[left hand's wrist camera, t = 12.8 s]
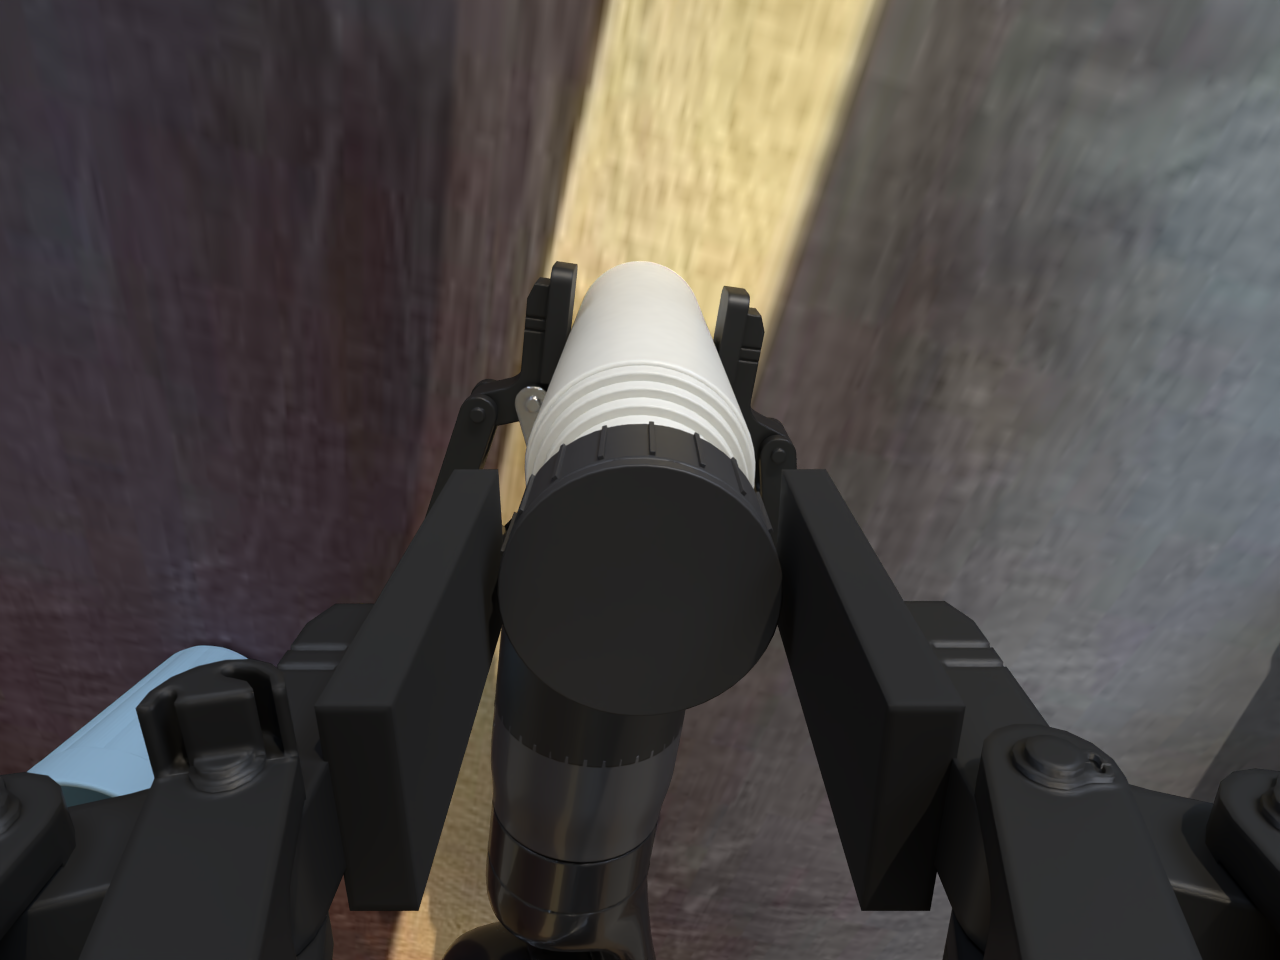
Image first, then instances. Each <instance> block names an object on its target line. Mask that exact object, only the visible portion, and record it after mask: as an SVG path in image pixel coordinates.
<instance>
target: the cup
mask: <svg viewBox="0 0 1280 960" xmlns="http://www.w3.org/2000/svg"><path fill="white" fill-rule="evenodd" d="M231 659H248V658H246V657H244V656H242V655H240V654H239V653H236V652H234V651H232V650H229V649H226V648H223V647H216V646H194V647H191V648H187V649H185V650H182V651H179V652H177V653H175V654H174V655H172V656H171V657H170V658H168V659H167V660H166V661H165V662H163V663H162V664H161V665H159V666H158V667H157V668H156V669H154V670H153V671H152V672H151V673H149V674H148V675H147V676H146V677H144V678H143V679H142V680H141V681H139V682H138V683H137V684H136V685H134V686H133V687H132V688H131V689H130V690H128V691H127V692H126V693H125V694H123V695H122V696H121V697H120V698H118V699H117V700H116V701H115V702H113V703H112V704H111V705H110V706H108V707H107V708H106V709H105V710H104V711H102V712H101V713H100V714H99V715H97V716H96V717H95V718H94V719H92V720H91V721H90V722H89V723H87V724H86V725H85V726H84V727H82V728H81V729H80V730H79V731H78V732H76V733H75V734H74V735H73V736H71V737H70V738H69V739H68V740H66V741H65V742H64V743H63V744H61V745H60V746H59V747H58V748H56V749H55V750H54V751H53V752H51V753H50V754H49V755H48V756H47V757H45V758H44V759H43V760H42V761H40V762H39V763H37V764H36V765H35V766H34V767H32V768H31V769H30V770H29V771H27V772H29V773H35V774H42V775H48V776H49V777H51V778H52V779H53V780H54V781H55V782H57V783H58V784H59V785H60V786H61V789H62V792H63V795H64V798H65V801H66V804H67V807H71V806H75V805H80V804H85V803H89V802H94V801H98V800H103V799H108V798H112V797H117V796H121V795H126V794H131V793H134V792H138V791H141V790H145V789H148V788H150V787H151V785H152V783H153V780H154V775H153V771H152V768H151V764H150V760H149V757H148V753H147V749H146V746H145V742H144V738H143V734H142V731H141V727H140V723H139V720H138V716H137V712H136V709H135V708H136V707H137V706H138V705H139V703H140V702H141V701H142V700H143V698H144V697H145V696H146V695H147V694H148V692H149V691H151V690H152V689H154V688H155V687H157V686H158V685H160V684H161V683H163V682H164V681H166V680H167V679H169V678H170V677H172V676H175V675H177V674H180V673H182V672H184V671H187V670H189V669H192V668H194V667H197V666H200V665H204V664H209V663H213V662H218V661H222V660H231Z"/></svg>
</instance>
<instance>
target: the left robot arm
mask: <svg viewBox="0 0 1280 960" xmlns="http://www.w3.org/2000/svg"><path fill="white" fill-rule="evenodd" d="M502 545H503V534H502V519H501V505H500V490H499V475H498V469H454V471H453V472H452V474H451V476H450V477H449V479H448V481H447V483H446V484H445V486H444V488H443V489H442V491H441V493H440V494H439V496H438V498H437V499H436V501H435V503H434V504H433V506H432V508H431V510H430V511H429V513H428V515H427V516H426V518H425V520H424V521H423V523H422V525H421V526H420V528H419V530H418V532H417V533H416V535H415V537H414V538H413V540H412V542H411V543H410V545H409V547H408V548H407V550H406V552H405V553H404V555H403V557H402V559H401V560H400V562H399V564H398V565H397V567H396V569H395V570H394V572H393V574H392V575H391V577H390V579H389V580H388V582H387V584H386V586H385V587H384V589H383V591H382V592H381V594H380V596H379V597H378V599H377V601H376V602H375V604H335V605H333V606H332V607H330V608H329V609H327V610H326V611H324V612H323V613H321V614H320V615H318V616H317V617H315V618H314V619H313V620H311V621H310V622H308V623H307V624H306V625H305V627H304V628H303V630H302V631H301V632H300V634H299V635H298V637H297V638H296V639H295V641H294V642H293V644H292V645H291V650H288V651H287V652H286V653H285V655H284V656H283V658H282V659H281V661H280V662H279V663H278V667H277V668H276V667H275V666H274V665H273V664H271V663H267V662H262V661H258V660H254V659H231V660H222V661H218V662H213V663H209V664H204V665H200V666H197V667H194V668H192V669H189V670H187V671H184V672H182V673H180V674H177V675H175V676H172V677H170V678H169V679H167V680H166V681H164V682H163V683H161V684H160V685H158V686H157V687H155V688H154V689H152V690H151V691H149V692H148V694H147V695H146V696H145V697H144V698H143V700H142V701H141V702H140V703H139V705H138V706H137V707H136V708H135V709H136V712H137V716H138V720H139V723H140V727H141V731H142V734H143V738H144V742H145V746H146V749H147V753H148V757H149V760H150V764H151V768H152V771H153V775H154V780H153V783H152V785H151V787H150V788H148V789H145V790H141V791H138V792H134V793H131V794H126V795H121V796H117V797H112V798H108V799H103V800H98V801H94V802H89V803H85V804H80V805H75V806H71V807H67V804H66V801H65V798H64V795H63V792H62V789H61V786H60V785H59V784H58V783H57V782H55V781H54V780H53V779H52V778H51V777H49V776H48V775H42V774H35V773H29V772H22V773H14V774H6V775H0V960H332V956H333V946H334V942H333V936H332V929H331V923H330V918H329V912H328V910H329V908H330V905H331V903H332V901H333V898H334V896H335V893H336V891H337V889H338V886H339V884H340V881H341V879H342V876H343V874H344V880H345V885H346V891H347V897H348V903H349V908H350V911H419V907H420V904H421V900H422V897H423V893H424V890H425V887H426V883H427V880H428V876H429V873H430V870H431V866H432V863H433V859H434V856H435V853H436V849H437V846H438V842H439V839H440V836H441V832H442V829H443V825H444V822H445V819H446V815H447V812H448V808H449V805H450V801H451V798H452V795H453V791H454V788H455V784H456V781H457V778H458V774H459V771H460V767H461V764H462V761H463V757H464V754H465V750H466V747H467V744H468V740H469V737H470V733H471V730H472V727H473V723H474V720H475V716H476V713H477V709H478V706H479V703H480V699H481V696H482V692H483V689H484V686H485V682H486V679H487V675H488V672H489V669H490V665H491V662H492V658H493V655H494V652H495V648H496V645H497V641H498V638H499V634H500V631H501V628H502V620H501V616H500V612H499V606H498V597H497V584H498V573H499V568H500V563H501V559H502V556H503V555H500V551H501V548H502ZM776 551H777V554H778V558H779V562H780V565H781V568H782V571H783V576H782V579H783V603H782V608H781V613H780V618H779V621H778V628H779V631H780V635H781V638H782V641H783V645H784V648H785V652H786V655H787V658H788V662H789V665H790V669H791V672H792V675H793V679H794V682H795V686H796V689H797V692H798V696H799V699H800V703H801V706H802V709H803V713H804V716H805V720H806V723H807V727H808V730H809V733H810V737H811V740H812V744H813V747H814V750H815V754H816V757H817V761H818V764H819V767H820V771H821V774H822V778H823V781H824V784H825V788H826V791H827V795H828V798H829V802H830V805H831V808H832V812H833V815H834V819H835V822H836V825H837V829H838V832H839V836H840V839H841V842H842V846H843V849H844V853H845V856H846V859H847V863H848V866H849V870H850V873H851V876H852V880H853V883H854V887H855V890H856V894H857V897H858V900H859V904H860V907H861V911H930V908H931V902H932V897H933V891H934V885H935V880H936V874H937V872H938V875H939V877H940V880H941V882H942V884H943V887H944V889H945V892H946V894H947V896H948V899H949V901H950V904H951V906H952V912H951V918H950V923H949V928H948V934H947V939H946V944H945V949H944V955H943V960H1280V771H1272V770H1264V769H1256V768H1255V769H1249V770H1242V771H1235V772H1232V773H1231V774H1230V775H1229V776H1227V777H1226V778H1225V779H1224V780H1223V781H1221V782H1220V786H1219V789H1218V792H1217V795H1216V798H1215V801H1214V804H1212V803H1207V802H1203V801H1198V800H1194V799H1189V798H1184V797H1180V796H1175V795H1170V794H1166V793H1161V792H1156V791H1152V790H1148V789H1144V788H1141V787H1137V786H1134V785H1130V784H1128V781H1127V779H1126V777H1125V775H1124V774H1123V773H1122V771H1121V770H1120V768H1119V767H1118V765H1117V764H1116V763H1115V761H1114V760H1113V759H1112V758H1111V757H1109V756H1108V755H1107V754H1106V753H1104V752H1103V751H1102V750H1100V749H1099V748H1098V747H1096V746H1095V745H1094V744H1093V743H1091V742H1088V741H1086V740H1084V739H1082V738H1080V737H1078V736H1076V735H1074V734H1071V733H1069V732H1067V731H1064V730H1060V729H1056V728H1052V727H1049V725H1048V724H1047V722H1046V721H1045V720H1044V718H1043V717H1042V716H1041V714H1040V713H1039V711H1038V710H1037V709H1036V707H1035V706H1034V704H1033V703H1032V702H1031V700H1030V699H1029V697H1028V696H1027V695H1026V693H1025V692H1024V690H1023V689H1022V688H1021V686H1020V685H1019V683H1018V682H1017V681H1016V679H1015V678H1014V676H1013V675H1012V674H1011V672H1010V671H1009V670H1008V668H1007V667H1003V661H1002V660H1001V658H1000V657H999V656H998V654H997V653H996V651H995V650H994V649H993V648H990V643H989V642H988V640H987V639H986V637H985V636H984V635H983V633H982V632H981V630H980V629H979V628H978V626H977V625H976V623H975V622H974V621H973V620H972V619H970V618H969V617H967V616H966V615H964V614H963V613H961V612H960V611H959V610H957V609H956V608H954V607H953V606H951V605H950V604H948V603H947V602H945V601H903V599H902V597H901V596H900V594H899V592H898V591H897V589H896V587H895V586H894V584H893V582H892V581H891V579H890V577H889V575H888V574H887V572H886V570H885V569H884V567H883V565H882V564H881V562H880V560H879V559H878V557H877V555H876V553H875V552H874V550H873V548H872V547H871V545H870V543H869V542H868V540H867V538H866V537H865V535H864V533H863V532H862V530H861V528H860V526H859V525H858V523H857V521H856V520H855V518H854V516H853V515H852V513H851V511H850V510H849V508H848V506H847V504H846V503H845V501H844V499H843V498H842V496H841V494H840V493H839V491H838V489H837V488H836V486H835V484H834V483H833V481H832V479H831V477H830V476H829V474H828V472H827V471H826V469H782V475H781V490H780V505H779V519H778V534H777V549H776Z"/></svg>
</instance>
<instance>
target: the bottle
mask: <svg viewBox="0 0 1280 960" xmlns="http://www.w3.org/2000/svg"><path fill="white" fill-rule="evenodd" d="M649 421H653V422H654V425H663V426H669V427H673V428H676V429H680V430H683V431H685V432H688V433H691V434H693V435H694V433H695V432H696V433H698V434H699V435H700V438H702V439H704V440H705V441H707V442H709V443H711V444H712V445H714V446H715V447H717V448H718V449H719V450H721V451H722V452H724V453H725V454H726V455H727V456H728V457H729V458H730V459H731V458H732V457H734V458H735V459H736V460H737V463H738V467H739V468H740V469H741V471H742V472H743V473H744V474H745V476H746V477H747V479H748V480H749V482H750V484H751V485H752V487H753V489H754V479H755V455H754V447H753V444H752V440H751V436H750V433H749V430H748V428H747V425H746V423H745V420H744V418H743V415H742V413H741V410H740V408H739V405H738V403H737V400H736V398H735V395H734V392H733V390H732V387H731V385H730V382H729V380H728V377H727V375H726V372H725V370H724V367H723V365H722V362H721V360H720V357H719V355H718V352H717V350H716V347H715V344H714V342H713V339H712V337H711V334H710V332H709V329H708V327H707V324H706V322H705V319H704V317H703V314H702V312H701V309H700V307H699V304H698V302H697V299H696V297H695V295H694V293H693V291H692V289H691V288H690V287H689V285H688V284H687V283H686V281H685V280H684V279H683V278H682V277H681V276H679V275H678V274H677V273H675V272H674V271H672V270H671V269H669V268H667V267H665V266H662V265H660V264H657V263H653V262H646V261H633V262H627V263H623V264H620V265H617V266H615V267H613V268H611V269H609V270H608V271H606V272H604V273H603V274H602V275H601V276H600V277H598V278H597V279H596V280H595V281H594V283H593V284H592V285H591V286H590V288H589V289H588V291H587V293H586V295H585V297H584V299H583V301H582V304H581V306H580V309H579V311H578V314H577V316H576V319H575V322H574V324H573V327H572V329H571V332H570V334H569V337H568V339H567V342H566V344H565V347H564V349H563V352H562V354H561V357H560V360H559V362H558V365H557V367H556V370H555V372H554V375H553V377H552V380H551V382H550V385H549V387H548V390H547V392H546V395H545V398H544V400H543V403H542V405H541V408H540V410H539V413H538V415H537V418H536V420H535V423H534V425H533V428H532V431H531V434H530V437H529V439H528V444H527V449H526V454H525V479H526V486H527V483H528V480H529V478H530V476H531V474H533V475H536V474H537V472H538V471H539V469H540V468H541V467H542V466H543V465H544V464H545V463H546V462H547V461H548V460H549V459H550V458H551V457H552V456H553V455H554V454H556V453H557V452H558V451H559V449H560V446H561V445H562V444H565V445H568V444H570V443H571V442H573V441H575V440H577V439H578V438H580V437H583V436H585V435H587V434H590V433H592V432H594V431H598V430H601V429H602V426H604V425H607V427H613V426H617V425H626V424H649Z"/></svg>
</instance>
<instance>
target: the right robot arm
mask: <svg viewBox="0 0 1280 960" xmlns="http://www.w3.org/2000/svg"><path fill="white" fill-rule="evenodd" d="M576 278H577V264H572V263H565V262H558V261H557V262H556V263H555V264H554V265H553V267H552V272H551V278H550V279H549V278H542V277H540V278H539V279H538V280H537V282H536V283H535V285H534V286H533V288H532V290H531V292H530V294H529V296H528V298H527V309H526V320H525V332H524V343H523V355H522V366H521V372H520V373H519V374H518V375H516V376H514V377H512V378H508V379H503V380H498V381H496V380H493V379H485V380H482V381H480V382H479V383H478V384H477V385H476V386H475V388H474V389H473V391H472V393H471V395H470V397H468V398H467V399H466V400H465V402H464V403H463V404H462V406H461V408H460V411H459V414H458V417H457V420H456V423H455V427H454V430H453V433H452V436H451V439H450V442H449V445H448V448H447V452H446V455H445V458H444V461H443V464H442V467H441V470H440V473H439V476H438V480H437V483H436V486H435V489H434V492H433V495H432V498H431V501H430V505H429V508H428V511H427V514H426V516H427V515H428V513H429V511H430V510H431V508H432V506H433V504H434V503H435V501H436V499H437V498H438V496H439V494H440V493H441V491H442V489H443V488H444V486H445V484H446V483H447V481H448V479H449V477H450V476H451V474H452V472H453V471H454V469H483V467H484V465H485V462H486V459H487V456H488V453H489V450H490V447H491V444H492V441H493V438H494V435H495V432H496V429H497V426H499V425H503V424H508V423H513V422H518V421H519V422H520V425H521V429H522V432H523V436H524V439H525V443H526V446H527V444H528V439H529V437H530V434H531V431H532V428H533V425H534V423H535V420H536V418H537V415H538V413H539V410H540V408H541V405H542V403H543V400H544V398H545V395H546V392H547V390H548V387H549V385H550V382H551V380H552V377H553V375H554V372H555V370H556V367H557V365H558V362H559V360H560V357H561V354H562V352H563V349H564V347H565V344H566V342H567V339H568V337H569V334H570V332H571V324H572V315H573V306H574V297H575V287H576ZM749 303H750V296H749V294H748V292H747V291H746V290H745V289H743V288H736V287H729V286H724V287H723V290H722V294H721V299H720V305H719V311H718V316H717V322H716V328H715V333H714V339H713V342H714V344H715V347H716V350H717V352H718V355H719V357H720V360H721V362H722V365H723V367H724V370H725V372H726V375H727V377H728V380H729V382H730V385H731V387H732V390H733V392H734V395H735V398H736V400H737V403H738V405H739V408H740V410H741V413H742V415H743V418H744V420H745V423H746V425H747V428H748V430H749V433H750V436H751V440H752V444H753V447H754V455H755V479H754V491H755V493H757V492H759V493H760V495H761V498H762V501H763V504H764V506H765V509H766V512H767V515H768V518H769V520H770V523H771V526H772V529H773V533H771V537H772V540H773V543H774V546H775V548H776V549H777V534H778V519H779V505H780V490H781V475H782V469H797V464H796V450H795V448H794V446H793V444H792V442H791V440H790V438H789V436H788V434H787V432H786V431H785V429H784V427H783V425H782V424H781V422H780V421H778V420H777V419H774V418H767V417H765V416H763V415H761V414H759V413H757V412H756V411H754V410H753V409H752V408H751V398H752V393H753V388H754V383H755V377H756V372H757V367H758V361H759V357H760V352H761V347H762V342H763V337H764V327H763V322H762V317H761V315H760V314H759V312H758V311H757V310H756V308H749ZM425 518H426V517H425ZM510 522H511V520H510V521H509V522H508V523H507V524H506V525H505V526H503V525H502V534H503V542H504V539H505V536H506V534H507V531H508V528H509V525H510ZM494 706H495V708H494V719H493V729H492V740H491V769H492V779H493V800H492V810H491V821H490V832H489V841H488V850H487V862H486V884H487V893H488V897H489V901H490V904H491V907H492V909H493V911H494V913H495V915H496V917H497V918H498V920H499V922H495V923H491V924H487V925H484V926H480V927H477V928H475V929H473V930H470V931H468V932H466V933H464V934H463V935H461V936H460V937H459V938H457V939H456V940H455V941H454V942H453V944H452V945H451V946H450V947H449V948H448V950H447V951H446V953H445V955H444V957H443V958H442V960H656V957H655V952H654V947H653V943H652V937H651V929H650V919H649V907H648V893H647V874H648V870H649V865H650V857H651V852H652V847H653V841H654V836H655V831H656V826H657V820H658V817H659V813H660V809H661V806H662V803H663V801H664V798H665V796H666V793H667V790H668V788H669V785H670V782H671V779H672V775H673V771H674V766H675V761H676V756H677V751H678V746H679V741H680V736H681V730H682V725H683V720H684V715H685V710H686V709H685V710H681V711H677V712H673V713H668V714H661V715H653V716H629V715H618V714H613V713H608V712H603V711H599V710H595V709H592V708H589V707H586V706H583V705H581V704H578V703H576V702H574V701H572V700H570V699H567V698H566V697H564V696H562V695H561V694H559V693H557V692H556V691H554V690H552V689H551V688H550V687H549V686H547V685H546V684H545V683H543V682H542V681H541V680H540V679H539V678H538V677H536V676H535V675H534V674H533V673H532V672H531V671H530V670H529V669H528V668H527V666H526V665H525V664H524V662H523V661H522V660H521V659H520V657H519V656H518V655H517V653H516V651H515V649H514V648H513V646H512V644H511V643H510V641H509V639H508V636H507V634H506V632H505V629H504V627H503V624H502V629H501V640H500V651H499V662H498V673H497V684H496V695H495V703H494Z"/></svg>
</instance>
